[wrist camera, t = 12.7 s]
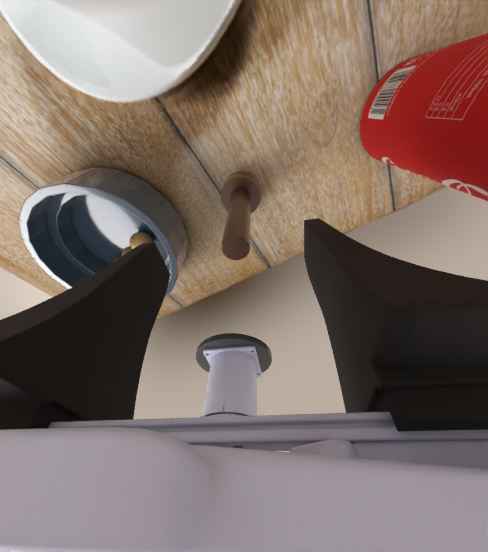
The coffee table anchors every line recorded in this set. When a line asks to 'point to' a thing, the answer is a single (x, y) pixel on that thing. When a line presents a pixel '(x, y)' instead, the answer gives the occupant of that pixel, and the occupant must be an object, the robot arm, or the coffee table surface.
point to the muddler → (239, 213)
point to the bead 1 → (126, 250)
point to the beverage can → (434, 116)
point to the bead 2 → (139, 239)
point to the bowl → (98, 224)
